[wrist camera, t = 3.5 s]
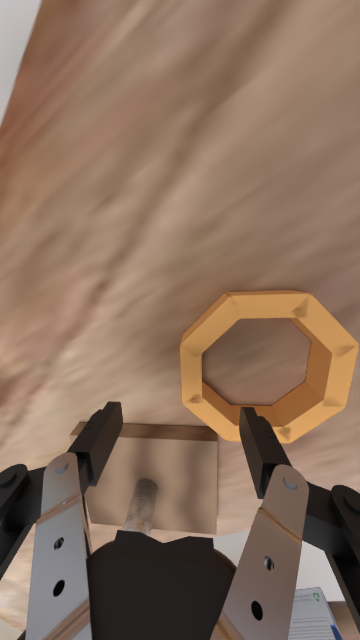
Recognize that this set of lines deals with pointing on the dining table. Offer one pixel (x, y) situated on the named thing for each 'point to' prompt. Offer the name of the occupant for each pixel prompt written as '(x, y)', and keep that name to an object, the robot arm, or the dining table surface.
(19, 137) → the dining table surface
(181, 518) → the hook stand
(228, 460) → the dining table surface
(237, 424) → the orange octagonal ring
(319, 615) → the string lights box
